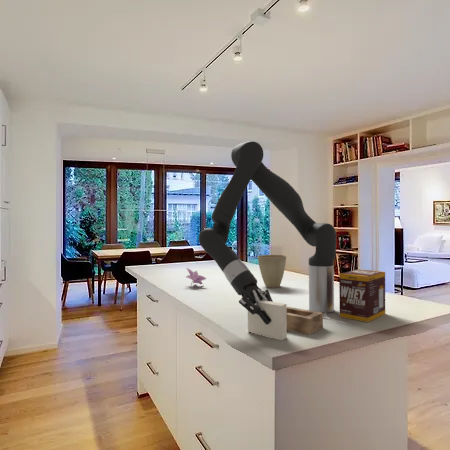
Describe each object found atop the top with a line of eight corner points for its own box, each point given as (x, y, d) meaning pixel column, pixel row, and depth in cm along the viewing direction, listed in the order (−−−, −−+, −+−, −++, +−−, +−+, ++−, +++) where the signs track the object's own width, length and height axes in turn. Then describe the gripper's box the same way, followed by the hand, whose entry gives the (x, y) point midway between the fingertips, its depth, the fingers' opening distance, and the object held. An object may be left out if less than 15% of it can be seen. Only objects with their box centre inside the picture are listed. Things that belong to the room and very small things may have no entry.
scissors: (319, 310, 137) (361, 322, 119) (319, 312, 137) (361, 325, 119) (297, 313, 132) (338, 327, 114) (297, 316, 132) (338, 330, 114)
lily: (207, 290, 185) (211, 273, 189) (187, 283, 180) (191, 265, 184) (197, 293, 194) (200, 277, 198) (177, 287, 190) (181, 270, 194)
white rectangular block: (248, 332, 111) (247, 300, 111) (253, 330, 114) (253, 298, 114) (281, 340, 104) (281, 305, 104) (286, 337, 106) (286, 303, 106)
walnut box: (255, 322, 122) (255, 308, 121) (270, 317, 128) (270, 303, 128) (309, 334, 109) (309, 318, 109) (322, 327, 116) (322, 312, 115)
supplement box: (338, 317, 128) (338, 273, 128) (358, 309, 139) (358, 268, 138) (367, 322, 120) (367, 276, 120) (385, 313, 131) (385, 271, 131)
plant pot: (285, 283, 194) (285, 254, 194) (287, 289, 179) (287, 257, 179) (257, 283, 196) (257, 254, 195) (257, 289, 181) (257, 257, 181)
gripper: (232, 272, 108) (266, 319, 100) (259, 267, 119) (292, 309, 111) (219, 287, 111) (251, 334, 104) (246, 281, 122) (277, 323, 114)
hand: (272, 321), depth 107 cm, fingers closed on white rectangular block, 3 cm apart
